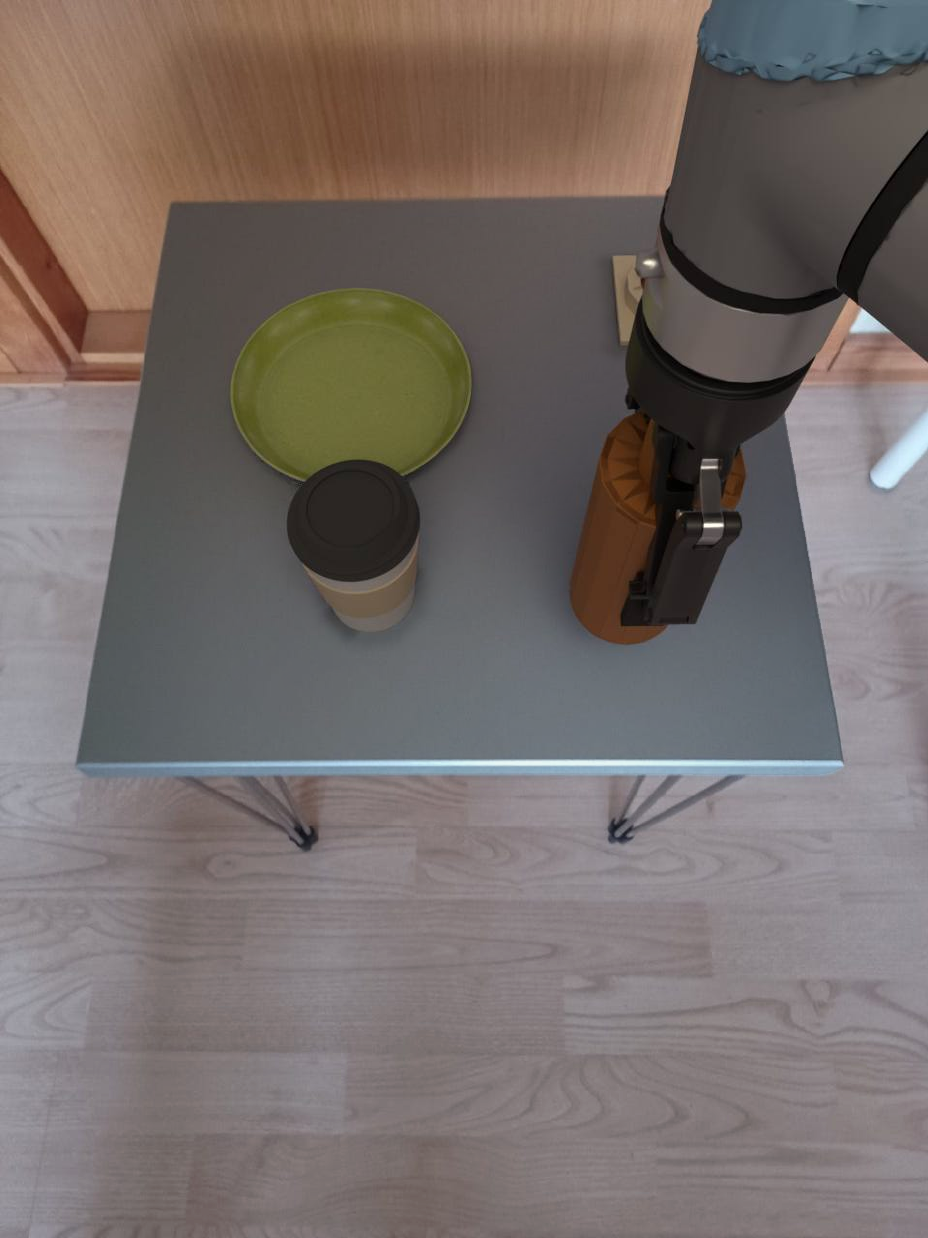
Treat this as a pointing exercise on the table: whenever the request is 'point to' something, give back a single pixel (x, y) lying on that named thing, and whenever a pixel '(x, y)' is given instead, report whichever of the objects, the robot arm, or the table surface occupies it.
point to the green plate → (350, 383)
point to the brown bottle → (623, 530)
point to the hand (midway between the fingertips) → (636, 560)
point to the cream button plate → (626, 294)
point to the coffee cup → (358, 541)
